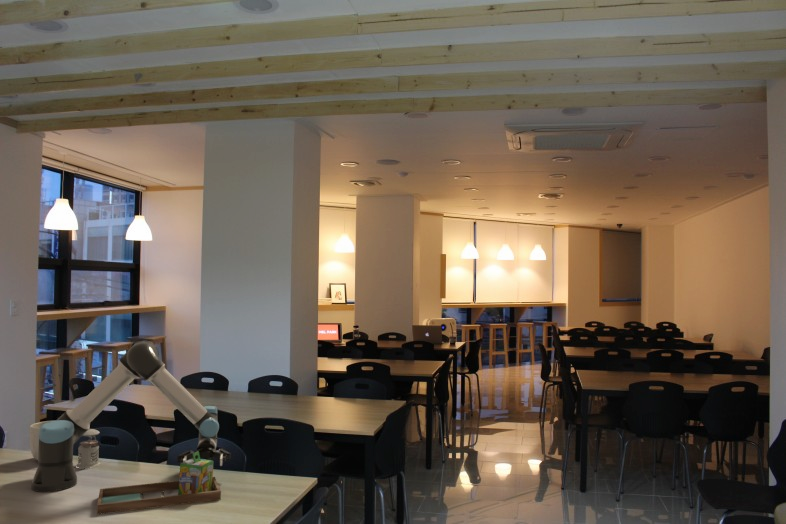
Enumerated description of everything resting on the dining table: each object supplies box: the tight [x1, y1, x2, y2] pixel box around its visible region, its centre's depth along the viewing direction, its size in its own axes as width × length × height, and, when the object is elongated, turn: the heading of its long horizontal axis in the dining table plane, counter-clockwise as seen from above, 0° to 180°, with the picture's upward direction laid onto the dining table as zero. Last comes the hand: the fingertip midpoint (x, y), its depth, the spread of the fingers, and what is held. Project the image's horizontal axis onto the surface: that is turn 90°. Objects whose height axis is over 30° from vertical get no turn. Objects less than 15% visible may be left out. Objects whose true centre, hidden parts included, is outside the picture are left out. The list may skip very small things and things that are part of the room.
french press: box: [75, 428, 101, 469], centre depth 257 cm, size 10×12×25 cm
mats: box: [142, 489, 179, 499], centre depth 216 cm, size 14×13×1 cm
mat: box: [102, 493, 142, 504], centre depth 211 cm, size 14×12×1 cm
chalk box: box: [178, 451, 214, 495], centre depth 221 cm, size 9×9×15 cm
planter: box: [29, 419, 57, 461], centre depth 265 cm, size 17×17×15 cm
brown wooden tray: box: [96, 476, 222, 515], centre depth 216 cm, size 18×40×3 cm, turn 113°
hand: (202, 463), depth 230 cm, fingers open, 13 cm apart
